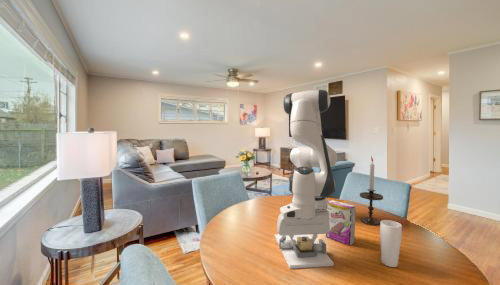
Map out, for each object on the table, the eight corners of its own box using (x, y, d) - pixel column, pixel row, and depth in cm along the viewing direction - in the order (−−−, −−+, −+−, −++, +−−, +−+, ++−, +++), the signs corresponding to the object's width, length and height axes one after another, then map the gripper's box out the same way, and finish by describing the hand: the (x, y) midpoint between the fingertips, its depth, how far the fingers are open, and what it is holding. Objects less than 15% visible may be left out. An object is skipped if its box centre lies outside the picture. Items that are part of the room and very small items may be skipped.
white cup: (374, 258, 87) (376, 220, 86) (391, 257, 88) (393, 219, 87) (386, 269, 80) (388, 227, 80) (405, 268, 81) (406, 227, 80)
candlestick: (354, 219, 125) (356, 155, 123) (370, 217, 129) (372, 154, 127) (370, 227, 115) (372, 157, 113) (387, 224, 118) (389, 156, 116)
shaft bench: (308, 235, 106) (308, 224, 106) (333, 265, 83) (333, 252, 82) (272, 237, 105) (272, 226, 104) (287, 268, 81) (287, 255, 80)
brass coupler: (307, 248, 92) (307, 234, 92) (311, 254, 88) (312, 240, 87) (296, 249, 92) (296, 235, 91) (300, 255, 87) (300, 241, 87)
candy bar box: (325, 237, 104) (326, 201, 103) (330, 234, 108) (331, 199, 107) (350, 246, 96) (351, 208, 95) (355, 242, 100) (356, 205, 99)
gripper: (325, 206, 93) (325, 239, 94) (276, 207, 91) (275, 241, 92) (333, 211, 87) (332, 247, 87) (279, 213, 85) (279, 250, 85)
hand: (302, 244), depth 90 cm, fingers open, 6 cm apart
